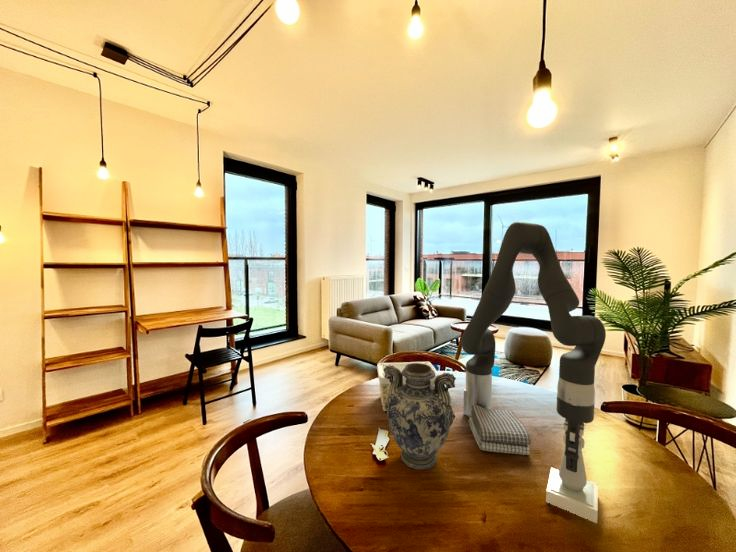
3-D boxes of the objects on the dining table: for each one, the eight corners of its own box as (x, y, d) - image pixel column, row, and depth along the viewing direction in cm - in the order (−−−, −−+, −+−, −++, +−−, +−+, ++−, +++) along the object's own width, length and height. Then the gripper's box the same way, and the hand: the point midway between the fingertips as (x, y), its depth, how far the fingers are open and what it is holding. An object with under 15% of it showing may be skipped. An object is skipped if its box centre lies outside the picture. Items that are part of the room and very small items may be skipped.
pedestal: (546, 502, 74) (546, 489, 74) (550, 477, 82) (551, 466, 81) (597, 523, 68) (597, 510, 67) (597, 495, 76) (597, 483, 75)
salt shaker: (591, 496, 71) (593, 444, 70) (564, 493, 72) (566, 441, 71) (579, 478, 77) (581, 430, 76) (554, 475, 78) (556, 427, 77)
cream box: (379, 414, 116) (379, 376, 115) (376, 394, 132) (376, 361, 131) (440, 412, 117) (440, 375, 116) (430, 393, 133) (430, 360, 132)
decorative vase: (457, 445, 96) (457, 360, 94) (453, 488, 78) (453, 385, 76) (392, 433, 103) (390, 354, 101) (375, 471, 85) (373, 376, 83)
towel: (480, 455, 92) (480, 430, 91) (467, 422, 110) (467, 401, 109) (532, 458, 90) (533, 433, 89) (510, 424, 108) (511, 403, 108)
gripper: (560, 382, 81) (557, 440, 82) (553, 404, 70) (551, 470, 71) (594, 390, 76) (591, 451, 77) (594, 414, 65) (590, 485, 66)
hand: (572, 460), depth 74 cm, fingers open, 8 cm apart
